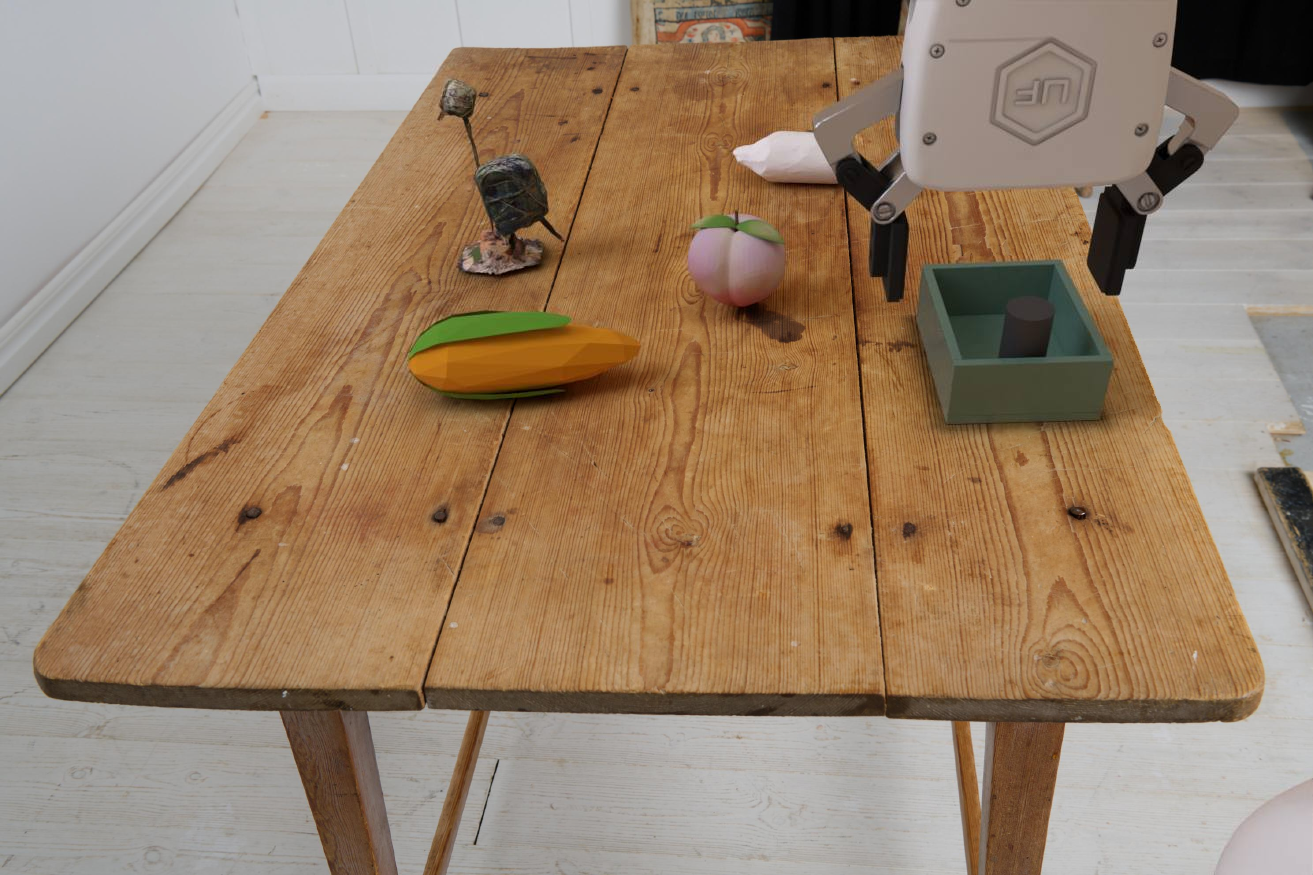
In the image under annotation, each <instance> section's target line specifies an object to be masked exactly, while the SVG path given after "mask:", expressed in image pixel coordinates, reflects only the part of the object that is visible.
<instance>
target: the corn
mask: <svg viewBox="0 0 1313 875" xmlns="http://www.w3.org/2000/svg"><path fill="white" fill-rule="evenodd" d="M641 348H642V345H641V344H640V342H639V340H638V339H636V338H635V337H632V336H631V335H628V334H627V333H625V332H622V331H618V330H615V329H614V330H613V329H610V328H609V329H608V328H602V327H596V326H590V325H583V324H577V323H572V317H570V316H567V315H563V314H558V313H552V312H545V311H534V310H533V311H532V310H531V311H506V310H505V311H503V310H488V309H484V310H478V311H469V312H461V313H454V314H451V315H449V316H446V317H444V318H442V319H439V320H437V321H435V322H434V323H432V324H431V325H430V326H429V327H427V328H426V329H425V330H423V331H422V332H420V333H419V335H418V337H417V339H416V340H415V342H414V343H413V345H412V346H411V348H410V350H409V351H408V355H407V362H408V363H407V365H408V369H409V373H410V374H411V376H412V377H413V378H414V379H415V380H416V381H417V382H418V383H419V384H420V385H422V386H423V387H424V388H427V389H428V390H431V391H432V392H434V393H436V394H440V395H443V396H447V397H451V398H455V399H468V400H469V399H470V400H486V401H487V400H499V399H515V398H528V397H534V396H540V395H547V394H555V393H561V392H562V393H563V392H566V391H567V390H565V389H558V388H557V389H547V390H538V389H546V388H551V387H555V386H559V385H564V384H569V383H573V382H579V381H583V380H587V379H590V378H592V377H595V376H597V375H599V374H601V373H604V372H606V371H609V370H611V369H613V368H616V367H618V366H620V365H622V364H625V363H627V362H629V361H632V359H634V358H636V357H637V356H638V355H639V353H640V350H641ZM528 390H537V391H528ZM518 391H519V392H518ZM520 391H525V392H520ZM527 391H528V392H527ZM509 392H516V393H509ZM499 393H500V394H499Z"/></svg>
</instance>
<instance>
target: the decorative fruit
mask: <svg viewBox="0 0 1313 875" xmlns="http://www.w3.org/2000/svg"><path fill="white" fill-rule="evenodd" d="M688 229H689V230H694V229H699V230H698V231H697V232H696V233H695V235H694V236H693V238H692V240H691V242H690V245H689V248H688V253H687V261H686V262H687V264H686V265H687V270H688V273H689V276H690V278H691V279H692V281H693V282H694V284H695V285H696V286H697V287H698V289H700V290H701V291H702V292H703V293H704V294H705V295H707V296H709V297H710V298H711V299H712V300H714V301H716V302H718V303H721V304H723V305H727V306H732V307H739V308H744V307H747V306H751V305H753V304H756V303H759V302H761V301H764V300H765V299H767V298H768V297H769V296H771V295H772V294H773V293H774V292H775V291H777V289H778V288H779V286H780V285H781V283H782V282H783V279H784V277H785V274H786V266H787V264H786V261H787V260H786V258H787V256H786V247H785V245H786V242H785V240H784V238H783V236H782V234H781V233H780V231H778V230H777V228H776V227H775V226H773V224H771V223H769V221H767V220H766V219H763V218H761V217H758V216H756V215H752V214H747V213H739V211H738V209H734V213H729V214H726V215H725V214H712V215H711V214H710V215H706V216H705V217H702V218H701V219H699V220H697V221H696V222H694V223H692V225H690V227H689V228H688Z"/></svg>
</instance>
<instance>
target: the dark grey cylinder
mask: <svg viewBox="0 0 1313 875" xmlns="http://www.w3.org/2000/svg"><path fill="white" fill-rule="evenodd" d="M1054 316H1055V307H1054V306H1053V305H1052V304H1051V303H1050V302H1049V301H1047V300H1045V299H1042V298H1039V297H1034V296H1021V297H1016V298H1014V299H1012V300H1010V301H1009V302H1008V304H1007V307H1006V313H1005V319H1004V325H1003V331H1002V337H1001V343H1000V349H999V354H998V359H999V358H1031V357H1046V355H1047V350H1048V345H1049V340H1050V335H1051V330H1052V325H1053V320H1054Z"/></svg>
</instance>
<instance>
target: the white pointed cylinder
mask: <svg viewBox="0 0 1313 875" xmlns="http://www.w3.org/2000/svg"><path fill="white" fill-rule="evenodd" d="M732 154H733V156H734V157H735V159H736V162H737V163H738V164H740V165H742V166H744V167H746V168H748V169H749V170H751V171H752V172H754V173H755V174H756V175H758V176H760V177H761V178H762V179H764V180H765V181H767V182H772V183H788V184H789V183H791V184H793V183H794V184H796V183H797V184H822V185H823V184H825V185H826V184H827V185H829V184H830V185H837V184H839V183H838V182H837V179H836V176H835V174H834V172H833V170H832V168H831V166H830V165H829V164H828V162H827V160H826V158H825V156H824V154H823V152H822V150H821V149H820V147H819V145H818V143H817V141H816V139H815V137H814V133H813V131H812V132H811V131H794V130H793V131H792V130H779V131H775V132H772V133H770V134H769V135H767V136H765V137H763V138H761V139H760V140H758V141H756V142H755V143H751V144H747V145H741V146H738V147H736V148H735V149H734V150H733V151H732Z"/></svg>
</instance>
